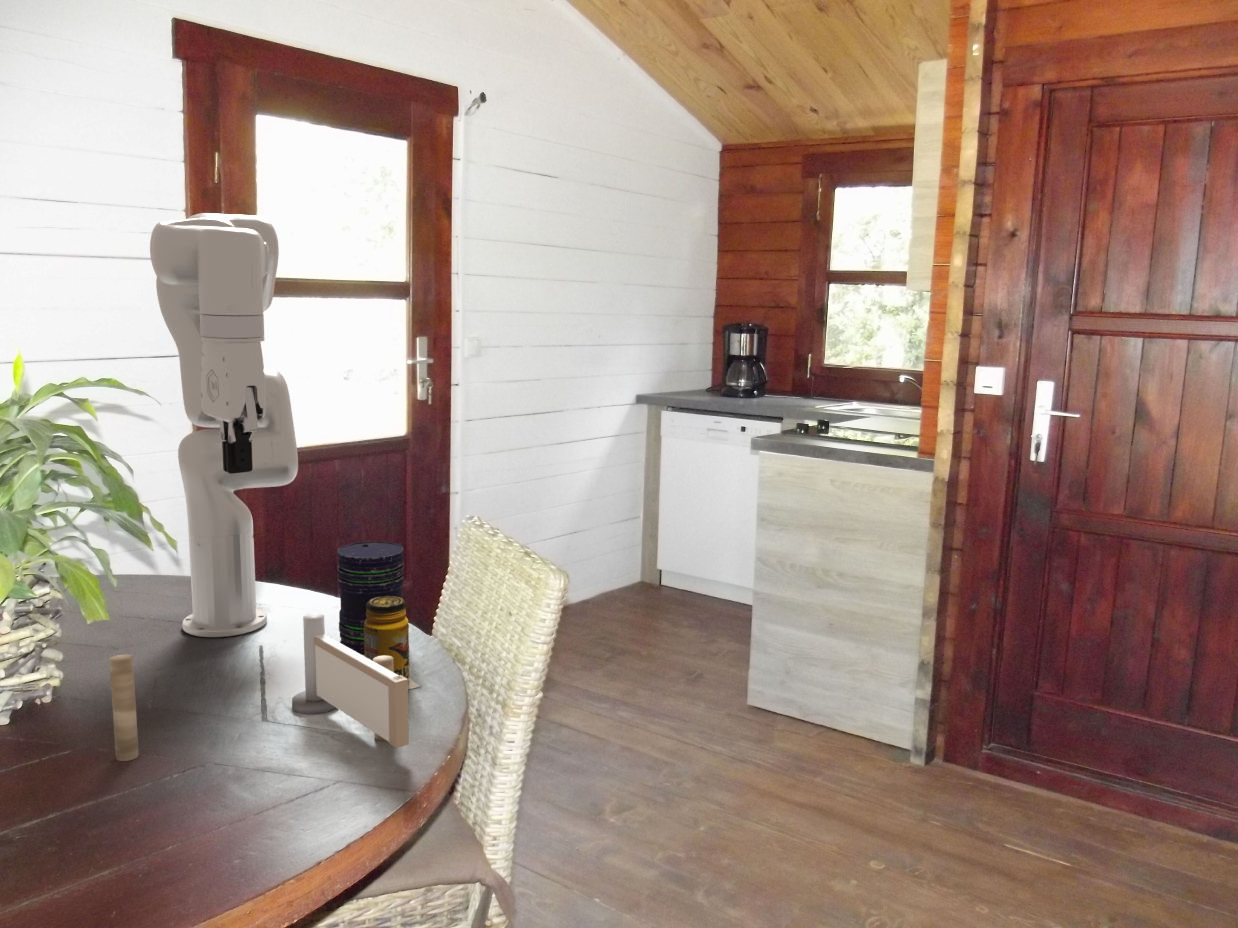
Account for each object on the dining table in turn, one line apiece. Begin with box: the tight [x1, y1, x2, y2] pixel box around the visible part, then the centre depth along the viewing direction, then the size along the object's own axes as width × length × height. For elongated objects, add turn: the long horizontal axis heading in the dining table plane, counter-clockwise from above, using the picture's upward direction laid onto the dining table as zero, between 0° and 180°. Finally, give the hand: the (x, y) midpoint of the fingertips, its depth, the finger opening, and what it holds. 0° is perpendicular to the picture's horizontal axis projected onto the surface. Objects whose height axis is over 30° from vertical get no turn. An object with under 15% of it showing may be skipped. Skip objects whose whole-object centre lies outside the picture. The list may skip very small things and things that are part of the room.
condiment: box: [363, 596, 420, 690], centre depth 141 cm, size 7×8×12 cm
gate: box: [302, 612, 410, 749], centre depth 126 cm, size 23×3×11 cm, turn 43°
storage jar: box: [337, 541, 405, 656], centre depth 156 cm, size 10×10×15 cm
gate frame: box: [109, 653, 394, 762], centre depth 122 cm, size 18×28×12 cm, turn 132°
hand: (238, 471), depth 133 cm, fingers closed
